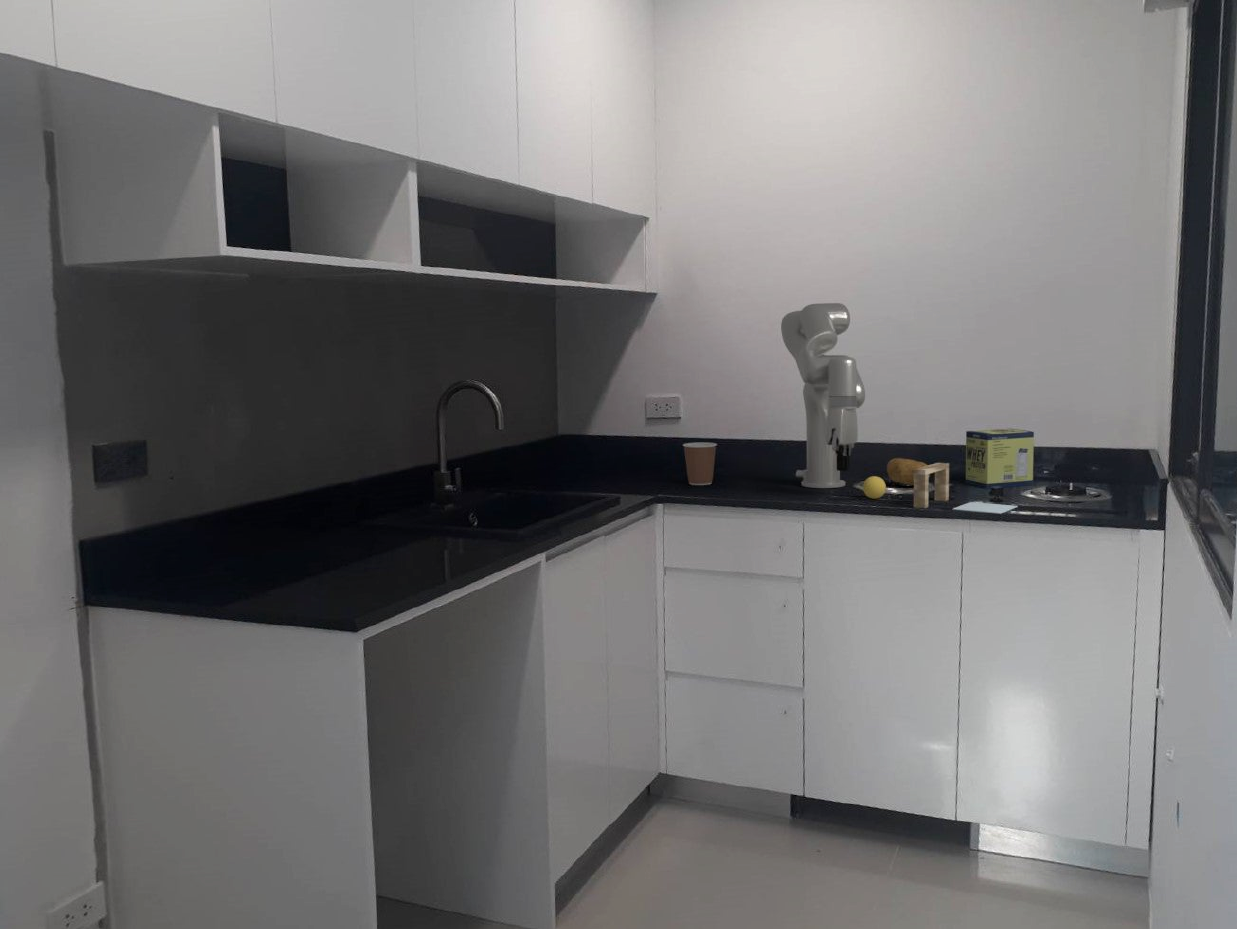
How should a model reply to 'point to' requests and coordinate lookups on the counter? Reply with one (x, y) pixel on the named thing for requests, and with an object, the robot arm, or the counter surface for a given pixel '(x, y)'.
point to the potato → (903, 470)
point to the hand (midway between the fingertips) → (843, 470)
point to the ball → (874, 487)
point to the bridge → (923, 481)
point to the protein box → (999, 458)
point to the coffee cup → (700, 462)
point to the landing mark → (985, 507)
